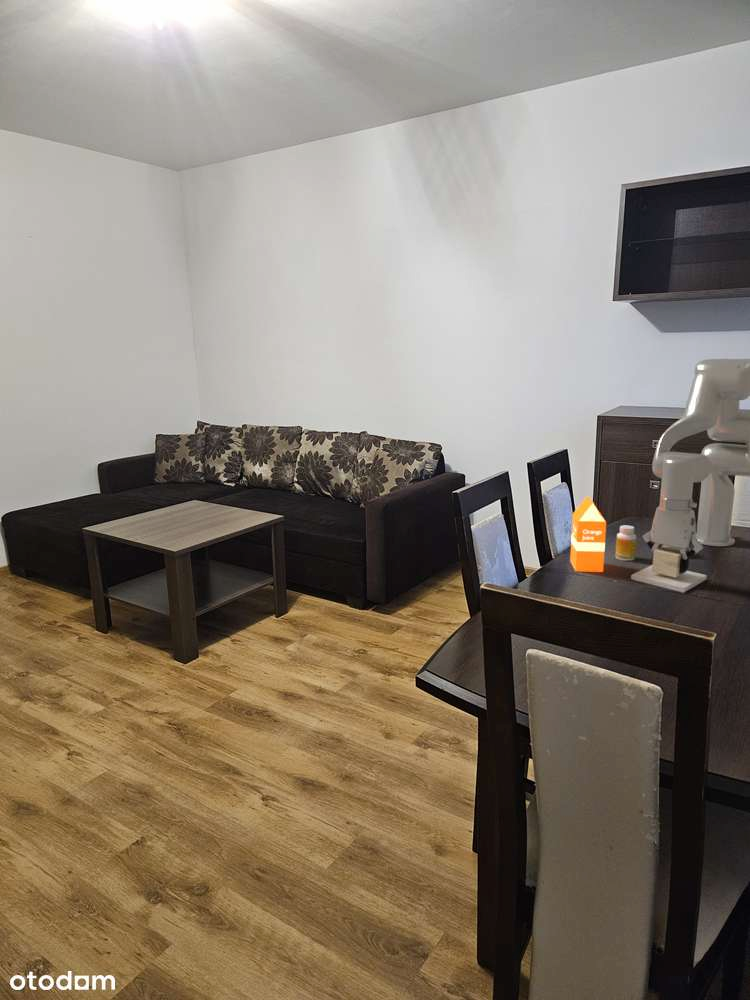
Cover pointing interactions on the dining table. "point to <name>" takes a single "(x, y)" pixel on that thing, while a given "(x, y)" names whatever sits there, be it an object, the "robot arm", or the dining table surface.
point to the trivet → (669, 579)
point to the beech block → (667, 561)
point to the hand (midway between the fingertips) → (669, 568)
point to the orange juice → (588, 538)
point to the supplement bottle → (626, 543)
